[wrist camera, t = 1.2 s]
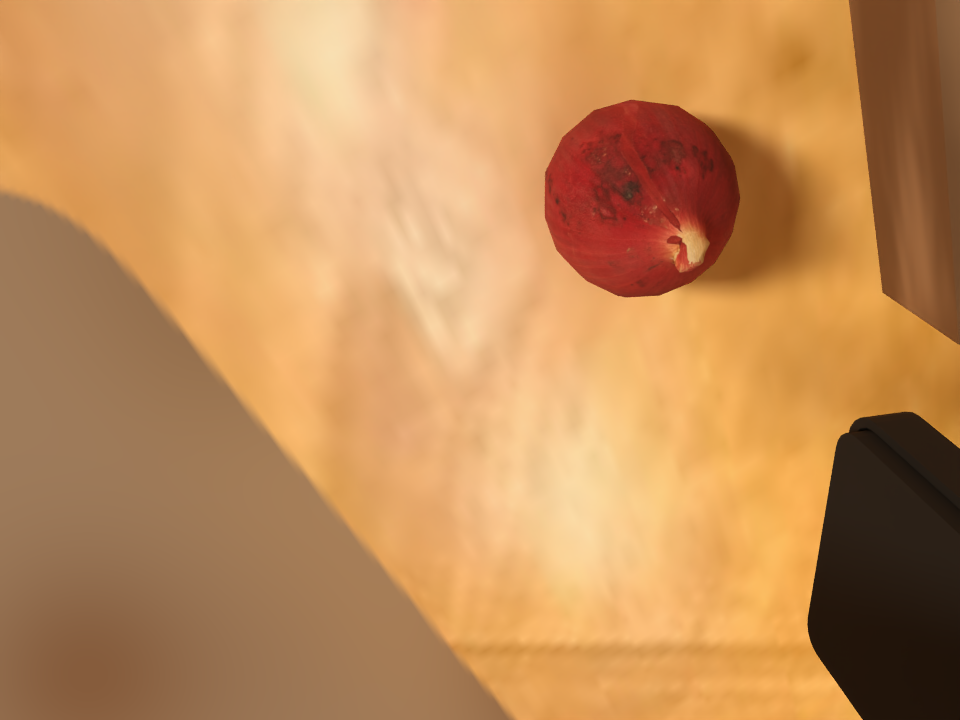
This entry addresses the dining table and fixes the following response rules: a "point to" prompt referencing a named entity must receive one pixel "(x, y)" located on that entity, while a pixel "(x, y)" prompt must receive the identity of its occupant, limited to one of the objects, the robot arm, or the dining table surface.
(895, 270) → the walnut block
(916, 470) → the robot arm
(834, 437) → the dining table surface
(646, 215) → the onion
